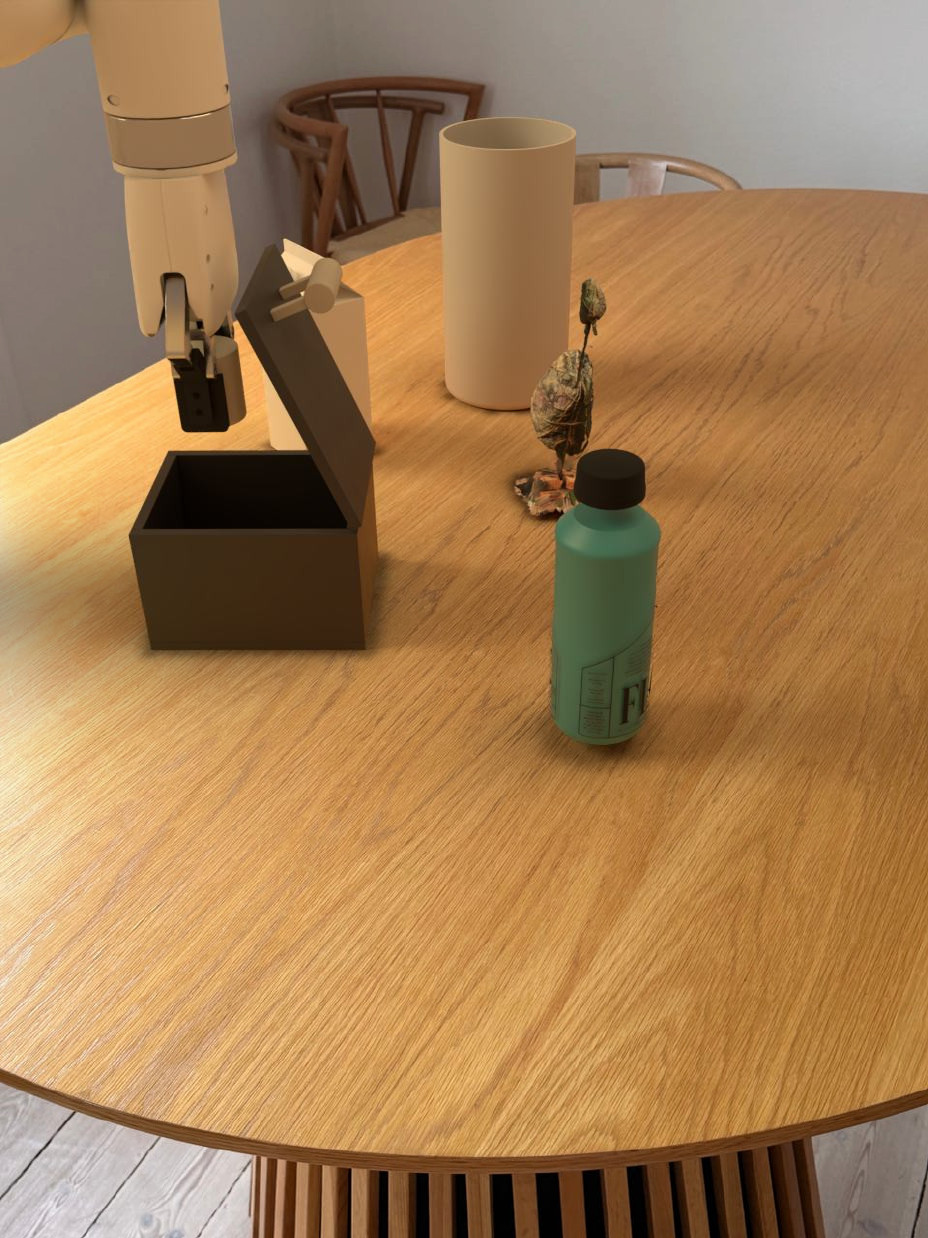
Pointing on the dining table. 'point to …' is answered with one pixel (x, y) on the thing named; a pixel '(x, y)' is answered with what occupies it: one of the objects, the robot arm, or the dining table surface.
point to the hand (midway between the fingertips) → (213, 411)
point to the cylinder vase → (505, 255)
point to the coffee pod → (229, 375)
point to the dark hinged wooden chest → (252, 555)
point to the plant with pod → (564, 415)
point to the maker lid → (309, 373)
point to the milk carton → (343, 340)
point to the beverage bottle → (604, 602)
